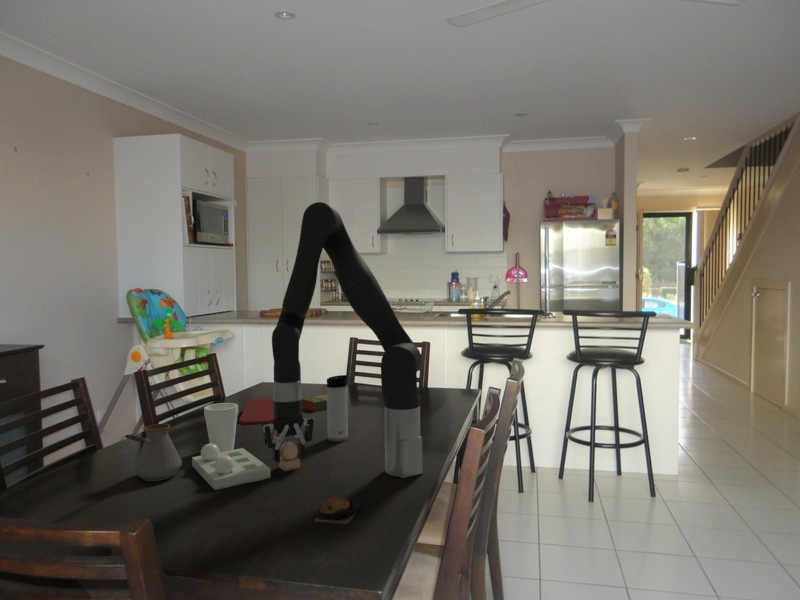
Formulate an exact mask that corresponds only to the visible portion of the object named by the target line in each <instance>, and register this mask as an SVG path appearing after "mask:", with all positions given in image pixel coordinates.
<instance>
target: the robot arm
mask: <svg viewBox="0 0 800 600" xmlns="http://www.w3.org/2000/svg"><path fill="white" fill-rule="evenodd" d="M299 234H300V235H299V241H298V247H297V252H296V256H295V261H294V265H293V267H292V270H291V271H292V272H291V273H290V274H291V275H290V278H289V281H288V285H287V287H286V289H285V290H286V291H285V294H284V297H283V300H282V303H281V304H282V306H281V308H282V309H281V311H280V315H279V317H278V320H277V324H276V326H275V328H274V329H273V331H272V334H271V347H272V349H271V350H272V357H273V388H272V398H273V409H274V420H273V422H272V423H267V424H262V426H261V430H262V436H263V440H264V446H265V447H267V448H268V449H271V453H272V455H271V456H272V459H271V460H273V461H274V463H276V464H279V463H280V458H281V455H280V448H281V444H282V443H283V441H284V439H285V438H287V437H289V436H293V437H294V436H295V438H296V440H297V443H296V446H297V448H298V454H297V458H299V459H300V460H301V459H304V456H306V443H308V442H311V441H312V439H313V433H314V432H313V431H314V422H315V421H314V419H313V418H311V417H308V416H307V417H306V418H305V417H303V409H302V399H303V385H302V380H301V379H302V377H301V374H302V373H301V372H302V371H301V362H300V340H301V335H302V332H303V328H304V326H305V325H304V323H305V320H306V316H307V314H308V312H309V309H310V306H311V303H312V300H313V297H314V294H315V291H316V287H317V279H318V271H319V270H318V268H319V263H320V259H321V255H322V252H323V250H324V251H325V253H326V254H327V256H328V257H329V260H330V261H331V264H332V267H333V269H334V272H335V275H336V280H337V282H338V284H339V286H340V289H341V291H342V293H343V294H344V297H345V299H346V300H347V302H348V304H349V306H350V307H351V308H352V310H353V311H354V313H355V315H357V316H358V317H359V319H361V321H363V323H364V324H365V325H366V326H367V327H368V328H369V329H370V330H371V331H372V332H373V334H374V335H375V336H376V338H377V340H378V341H379V343H380V345H381V347H382V349H383V354H382V357H381V362H380V378H381V379H380V380H381V394H382V397H383V406H384V407H383V409H384V419H383V420H384V421H383V422H384V465H385V466H384V471H385V473H386V474H387V475H389V476H392V477H396V478H397V477H399V478H401V479H405V478H410V477H413V476H418V475H421V474H423V472H424V471H423V437H422V436H421V396H420V394H419V392H418V378H417V377H418V375H417V373H418V371H419V370H420V369H421V366H422V360H423V359H422V355H421V352H420V350H419V348H418V347H417V345H416V344H415V342H414V341H413V339H412V338H411V337H410V335H409V334H408V333H407V332H406V330H405V329H404V328H403V327H404V326H402V325H401V323H400V321H399V320H398V317H397V316H396V314H395V312H394V310H393V307H392V306H391V303H390V302H389V301H388V298H387V297H386V295H385V292H384V291H383V289H382V287H381V286H380V283H379V282H378V280H377V278H376V277H375V275H374V274H373V272H372V271H371V269H370V268H369V266H368V264H367V263H366V261H365V259H364V258H363V257H362V255H361V254H360V253H359V252H358V250H357V248H356V247H355V245H354V244H353V242H352V239H351V237H350V235H349V233H348V231H347V229H346V226H345V223H344V221H343V219H342V217H341V214H340V213H339V212H338V211H337V209H336V208H334V207H333V206H331V205H330V204H328V203H326V202H321V201H320V202H319V201H317V202H313V203H311V204H310V205H309V206H308V207H306V209H305V211H304V212H303V216H302V219H301V227H300V233H299ZM302 426H304V434H303V432H302V431H301V428H302ZM273 429H274V430H275V433H274V435H273V440H272V434H271V433H272V432H273Z"/></svg>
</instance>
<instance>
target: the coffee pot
mask: <svg viewBox="0 0 800 600" xmlns="http://www.w3.org/2000/svg"><path fill="white" fill-rule="evenodd" d="M170 428H171V424H168V423H156V424H155V423H154V424H149V425H146V426H144V427H143V431H144V432H145V434H146V437H142V436H139V435H134V434H125V435H124V436H123V437H121V439H120V442H121V443H122V444H125V445H127V444H129V443H131V441H132V440H133V441H134V442H139V443H143V444H142V446H141V449H140V452H139V455H138V456H137V459H136V462H135V464H134V467H133V470H134V472H135V474H136V475H137V476H138V477H140V478H142V480H143V481H146V482H159V481H164V480H167V479H170V478H173V477H174V476H175V474H176V473H177V472H178V471H180V469H181V468H182V465H183V461H182V459H181V456H180V454H179V452H178V450H177V448H176V447H175V445H174V443H173V441H172V439H171V437H170V435H169V430H170ZM123 438H126V439H129V441H128V442H125V443H124V442H123Z"/></svg>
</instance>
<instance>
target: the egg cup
mask: <svg viewBox="0 0 800 600" xmlns="http://www.w3.org/2000/svg"><path fill="white" fill-rule="evenodd" d="M278 468H279V469H281V470H282V471H283V472H290V471H294V470H300V469H301V459H300V458H298V456H296V458H295V459H293V460H288V461H287V460H284V459H283V458H282V457H281V456H280V463H278Z"/></svg>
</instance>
